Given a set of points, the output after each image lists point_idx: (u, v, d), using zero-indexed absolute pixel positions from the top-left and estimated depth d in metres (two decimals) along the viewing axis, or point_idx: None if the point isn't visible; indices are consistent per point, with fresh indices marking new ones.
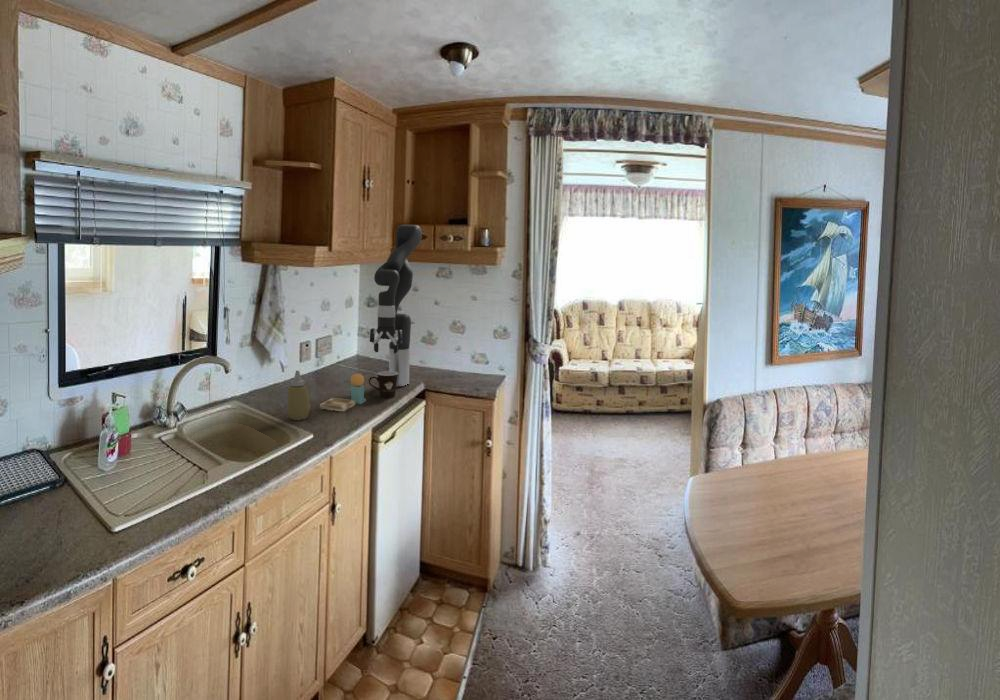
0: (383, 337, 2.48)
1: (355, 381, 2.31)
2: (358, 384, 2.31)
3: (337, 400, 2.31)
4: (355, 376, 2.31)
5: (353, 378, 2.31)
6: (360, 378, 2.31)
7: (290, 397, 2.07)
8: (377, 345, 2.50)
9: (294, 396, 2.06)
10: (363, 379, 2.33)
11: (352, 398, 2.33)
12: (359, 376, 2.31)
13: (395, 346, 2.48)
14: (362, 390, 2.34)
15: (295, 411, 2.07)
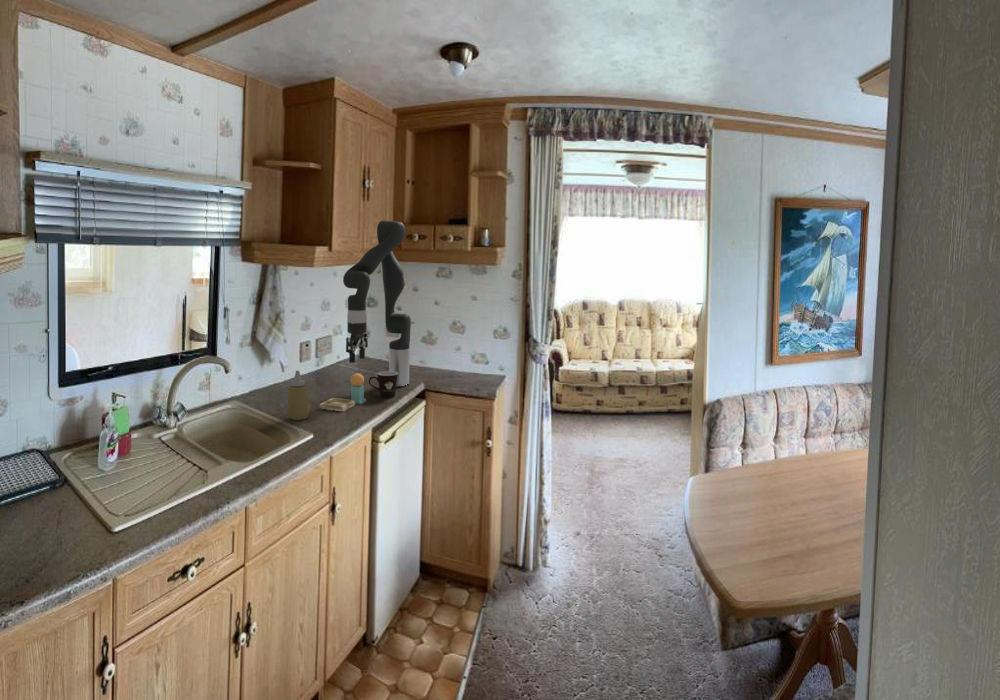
0: (358, 344, 2.29)
1: (355, 381, 2.31)
2: (358, 384, 2.31)
3: (337, 400, 2.31)
4: (355, 376, 2.31)
5: (353, 378, 2.31)
6: (360, 378, 2.31)
7: (290, 397, 2.07)
8: None
9: (294, 396, 2.06)
10: (363, 379, 2.33)
11: (352, 398, 2.33)
12: (359, 376, 2.31)
13: None
14: (362, 390, 2.34)
15: (295, 411, 2.07)
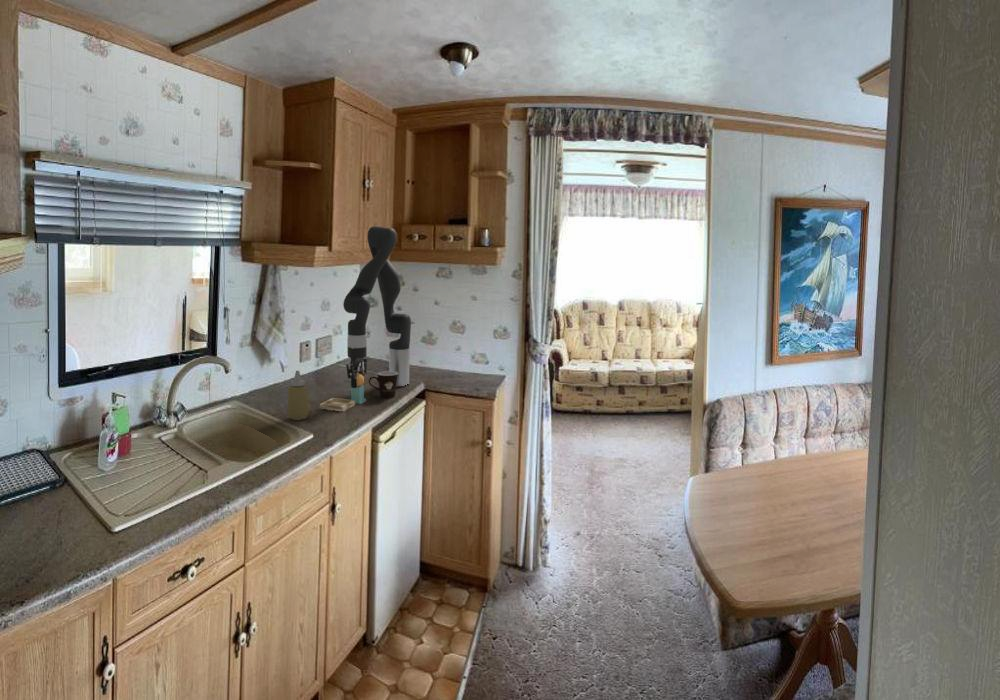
0: (359, 368, 2.32)
1: None
2: (358, 384, 2.31)
3: (337, 400, 2.31)
4: None
5: None
6: (360, 378, 2.31)
7: (290, 397, 2.07)
8: None
9: (294, 396, 2.06)
10: (363, 379, 2.33)
11: (352, 398, 2.33)
12: (359, 376, 2.31)
13: (363, 376, 2.36)
14: (362, 390, 2.34)
15: (295, 411, 2.07)
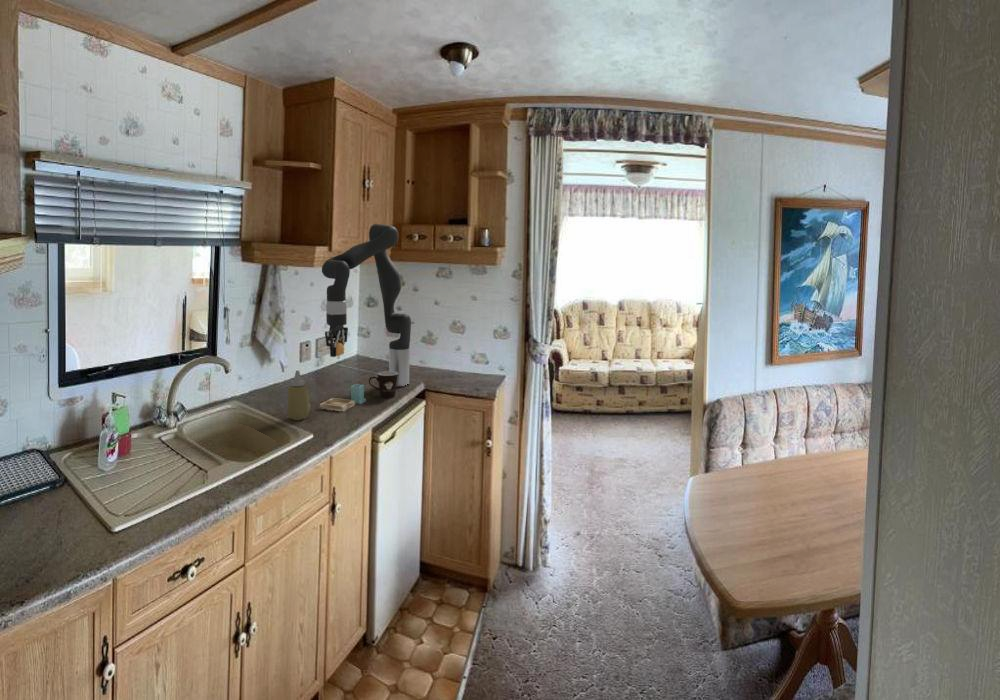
0: (338, 336, 2.21)
1: None
2: (338, 353, 2.21)
3: (337, 400, 2.31)
4: None
5: None
6: (340, 347, 2.21)
7: (290, 397, 2.07)
8: None
9: (294, 396, 2.06)
10: (343, 348, 2.22)
11: (352, 398, 2.33)
12: (339, 345, 2.21)
13: None
14: (362, 390, 2.34)
15: (295, 411, 2.07)
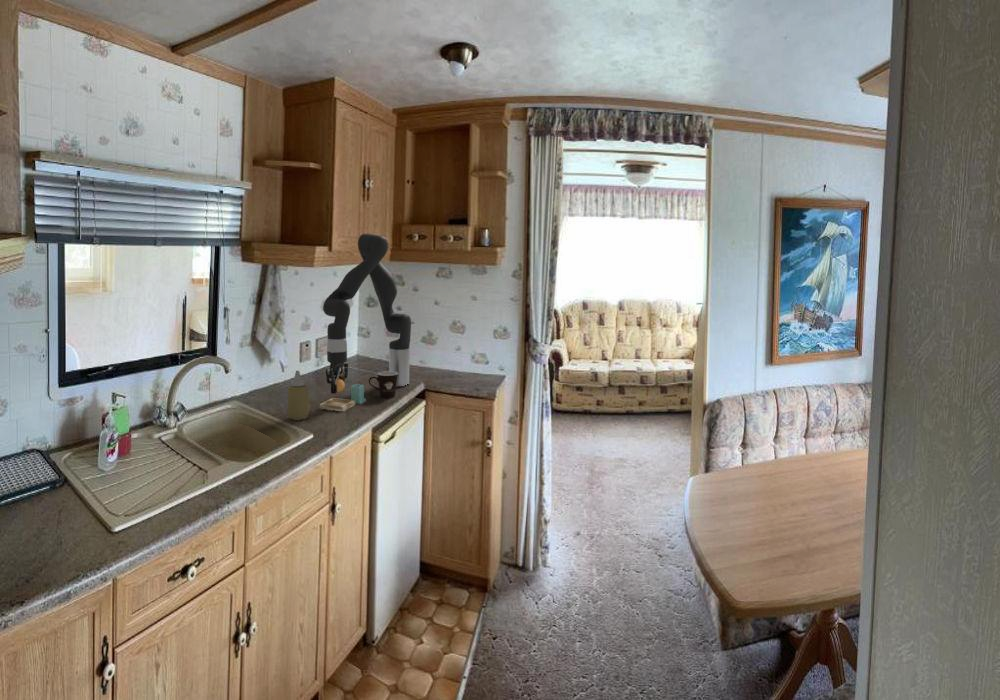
0: None
1: None
2: (338, 390, 2.24)
3: (337, 400, 2.31)
4: None
5: None
6: (340, 383, 2.23)
7: (290, 397, 2.07)
8: None
9: (294, 396, 2.06)
10: (343, 384, 2.25)
11: (352, 398, 2.33)
12: (339, 381, 2.24)
13: None
14: (362, 390, 2.34)
15: (295, 411, 2.07)
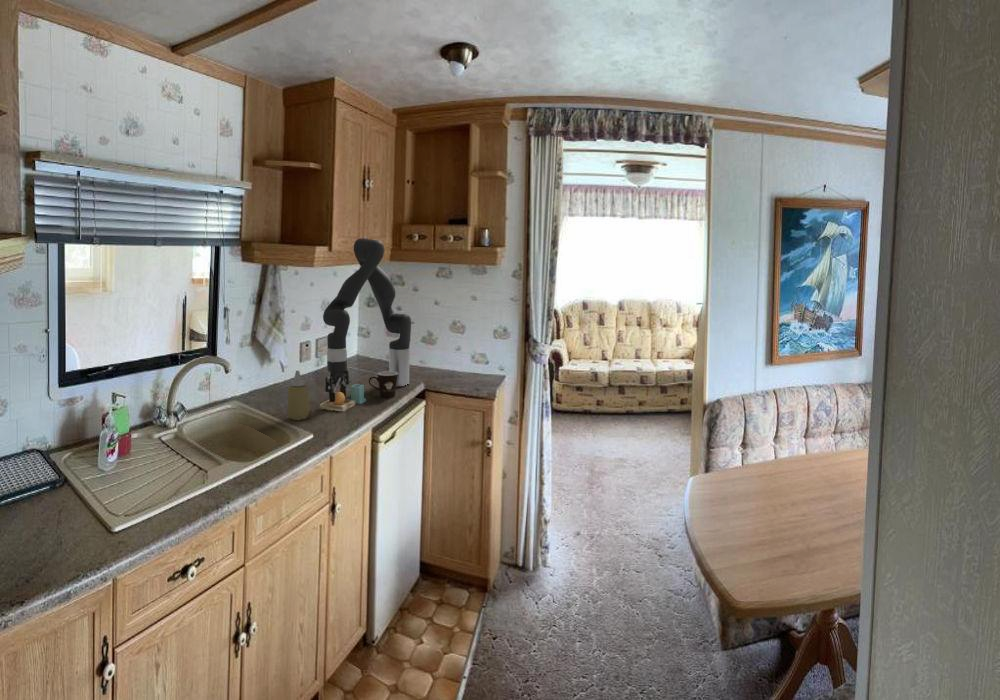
0: (338, 383, 2.24)
1: (335, 399, 2.24)
2: (338, 403, 2.25)
3: None
4: (335, 394, 2.24)
5: None
6: (340, 396, 2.25)
7: (290, 397, 2.07)
8: None
9: (294, 396, 2.06)
10: (344, 397, 2.26)
11: (352, 398, 2.33)
12: (339, 394, 2.25)
13: None
14: (362, 390, 2.34)
15: (295, 411, 2.07)
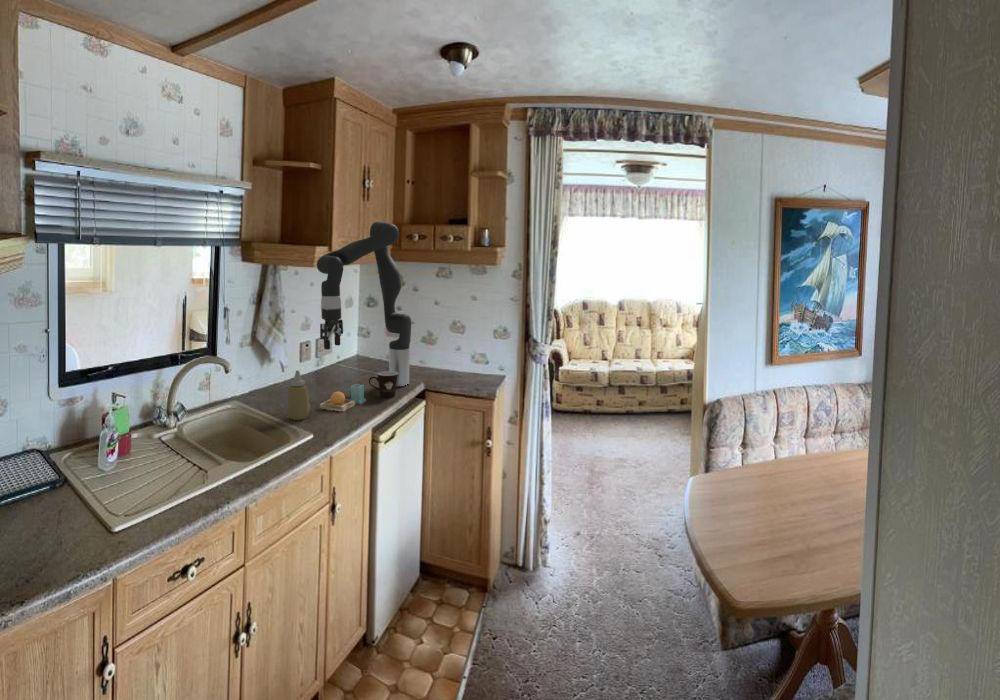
0: (333, 331, 2.26)
1: (335, 399, 2.24)
2: (338, 403, 2.25)
3: None
4: (335, 394, 2.24)
5: (333, 397, 2.24)
6: (340, 396, 2.25)
7: (290, 397, 2.07)
8: None
9: (294, 396, 2.06)
10: (344, 397, 2.26)
11: (352, 398, 2.33)
12: (339, 394, 2.25)
13: (339, 337, 2.32)
14: (362, 390, 2.34)
15: (295, 411, 2.07)
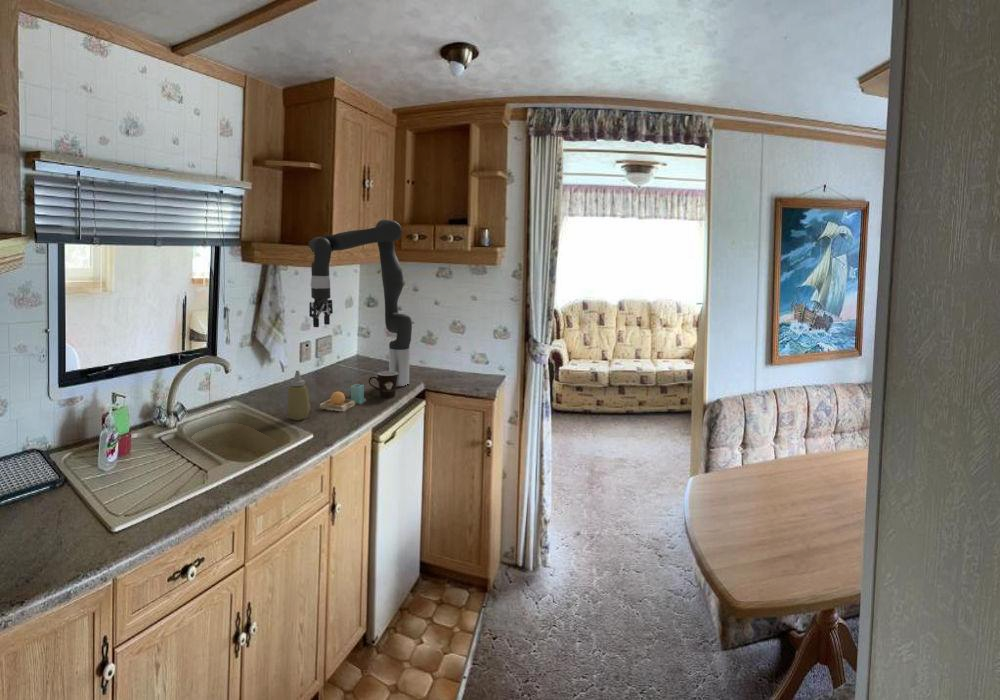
0: (322, 309, 2.35)
1: (335, 400, 2.24)
2: (338, 403, 2.25)
3: None
4: (335, 394, 2.24)
5: (333, 397, 2.24)
6: (340, 396, 2.25)
7: (290, 397, 2.07)
8: None
9: (294, 396, 2.06)
10: (343, 397, 2.26)
11: (352, 398, 2.33)
12: (339, 394, 2.25)
13: (329, 317, 2.41)
14: (362, 390, 2.34)
15: (295, 411, 2.07)
